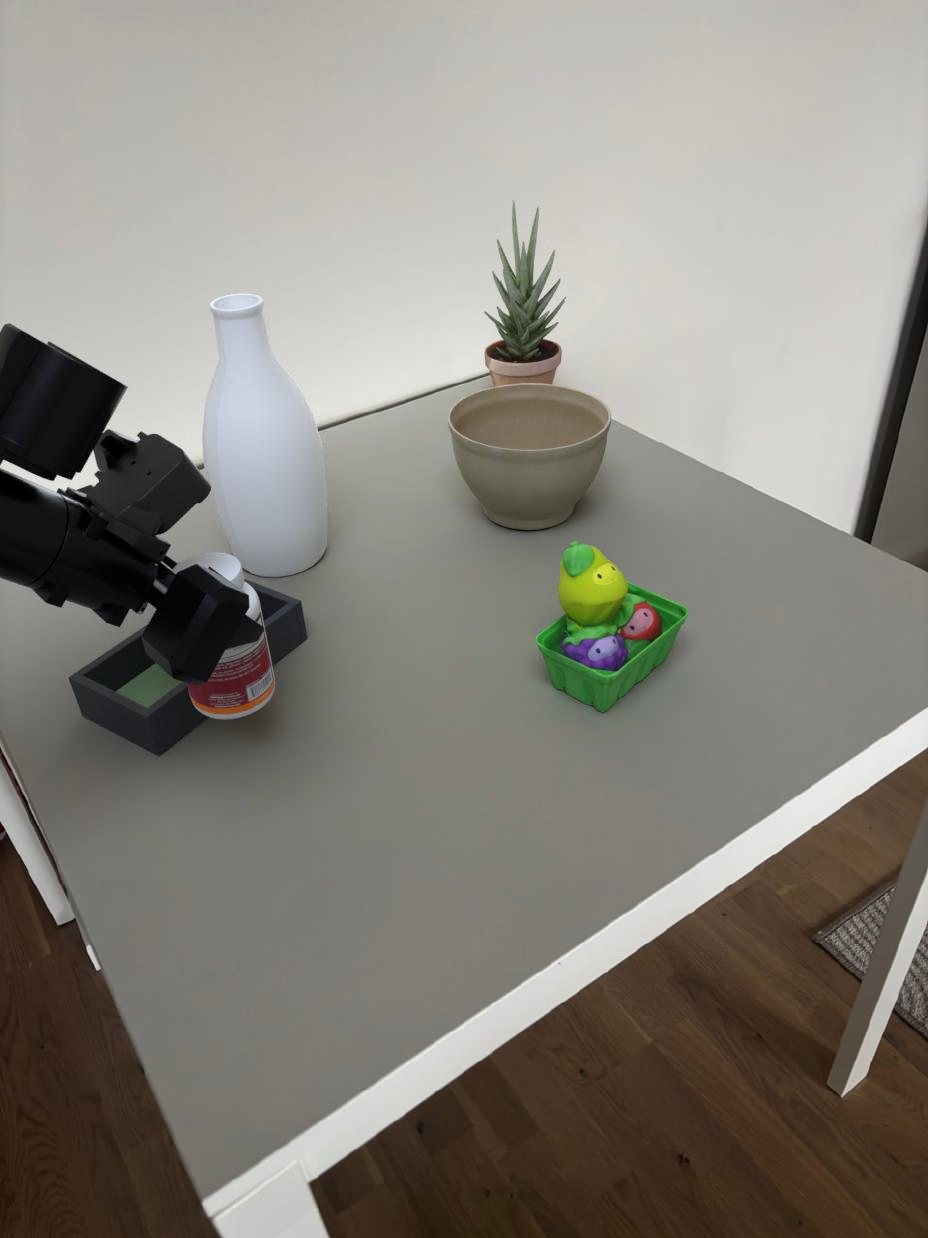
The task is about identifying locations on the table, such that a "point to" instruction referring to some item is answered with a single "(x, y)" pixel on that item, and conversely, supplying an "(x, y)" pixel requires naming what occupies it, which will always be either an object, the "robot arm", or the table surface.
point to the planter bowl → (529, 450)
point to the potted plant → (523, 320)
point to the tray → (166, 681)
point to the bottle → (262, 449)
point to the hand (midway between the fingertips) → (235, 614)
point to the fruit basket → (605, 630)
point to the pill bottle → (234, 655)
